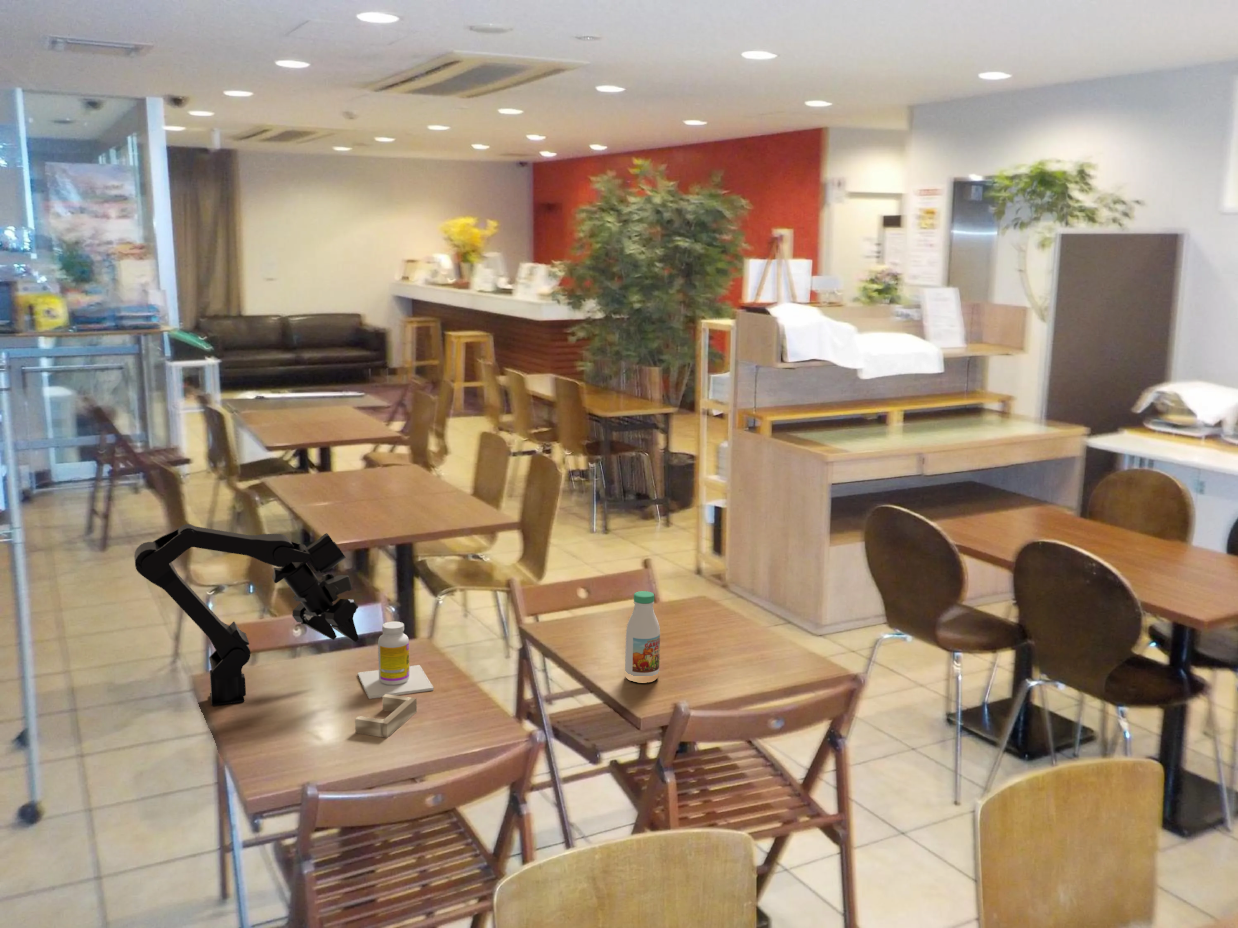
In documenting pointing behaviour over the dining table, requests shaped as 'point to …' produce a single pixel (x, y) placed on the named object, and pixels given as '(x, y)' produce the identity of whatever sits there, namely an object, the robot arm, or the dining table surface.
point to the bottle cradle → (400, 714)
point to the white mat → (378, 689)
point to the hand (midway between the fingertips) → (345, 639)
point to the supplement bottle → (393, 654)
